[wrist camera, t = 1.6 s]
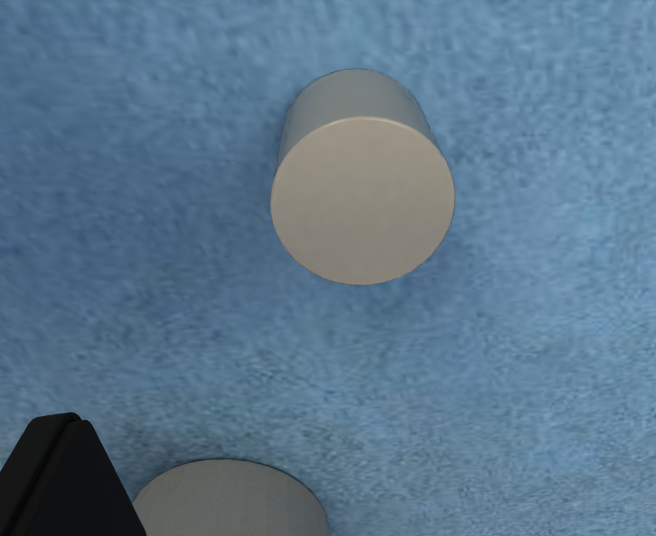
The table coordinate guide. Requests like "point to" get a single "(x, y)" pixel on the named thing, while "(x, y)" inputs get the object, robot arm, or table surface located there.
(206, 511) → the decorative object
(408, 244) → the beige cylinder
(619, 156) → the table surface
